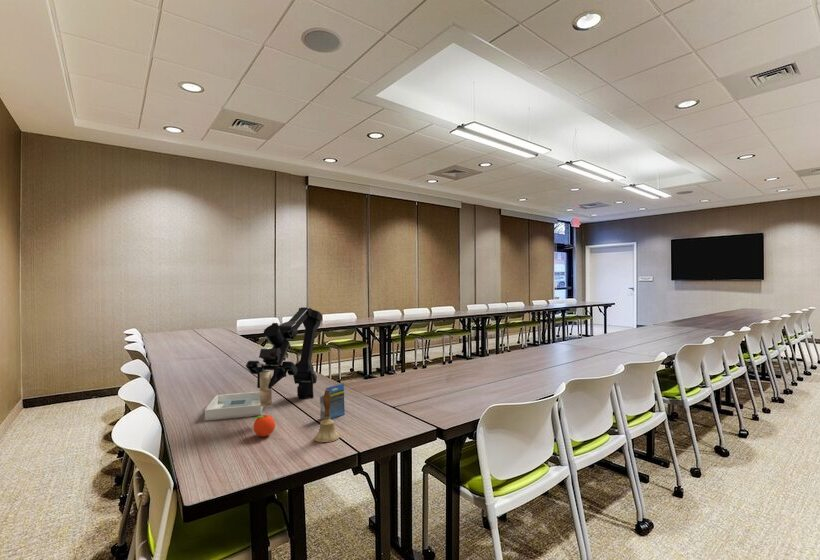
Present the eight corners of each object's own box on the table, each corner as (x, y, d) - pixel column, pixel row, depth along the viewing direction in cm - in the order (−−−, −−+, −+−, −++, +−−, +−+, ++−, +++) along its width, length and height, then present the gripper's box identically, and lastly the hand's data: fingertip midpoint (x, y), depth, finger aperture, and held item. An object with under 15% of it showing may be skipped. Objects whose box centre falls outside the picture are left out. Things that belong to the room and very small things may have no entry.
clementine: (249, 441, 129) (248, 420, 129) (251, 433, 136) (250, 413, 136) (274, 438, 131) (274, 417, 131) (275, 430, 138) (275, 410, 138)
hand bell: (329, 431, 137) (328, 385, 137) (345, 436, 132) (344, 389, 132) (309, 438, 130) (308, 390, 130) (325, 445, 125) (324, 395, 125)
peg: (272, 402, 148) (271, 370, 147) (271, 405, 144) (270, 373, 144) (260, 403, 146) (260, 371, 146) (259, 407, 143) (258, 374, 143)
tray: (266, 400, 173) (266, 391, 173) (261, 415, 154) (260, 405, 154) (216, 404, 168) (216, 395, 168) (204, 420, 149) (204, 410, 149)
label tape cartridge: (338, 412, 156) (338, 381, 156) (345, 414, 153) (344, 383, 153) (320, 418, 149) (319, 386, 149) (326, 421, 146) (325, 388, 146)
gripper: (248, 339, 150) (230, 375, 140) (293, 340, 147) (278, 377, 136) (259, 356, 158) (244, 391, 148) (303, 356, 155) (290, 393, 144)
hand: (263, 388), depth 144 cm, fingers closed on peg, 4 cm apart
